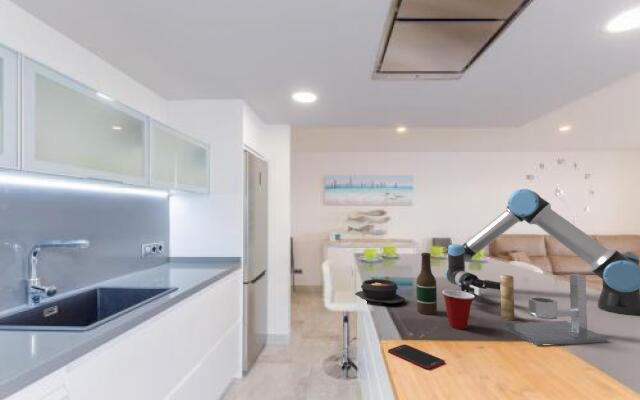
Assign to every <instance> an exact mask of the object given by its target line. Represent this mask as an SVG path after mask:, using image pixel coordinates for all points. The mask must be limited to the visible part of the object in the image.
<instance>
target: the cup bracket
mask: <svg viewBox="0 0 640 400" xmlns="http://www.w3.org/2000/svg"><path fill="white" fill-rule="evenodd" d="M586 277H587V276H586V274H582V273H581V274H580V273H569V289H570V291H569V292H570V293H569V295H570V308H565V309H563V308H562V309H559V308H558V300H555V299H552V298H550V297H548V298H547V297H541V296H535V297H534V296H533V297H532V296H531V297H529V298H528V313H529V315H530V316H532V317H534V318H538V319H545V320H554V319H555V320H556V319H558V318H562V317H570V322H569V321H566V320H561V321H560V320H559V321H558V320H557V321H538V322H518V323H517V322H516V323H514V322H513V323H502V329H503V330H505V331H507V332H509V333H511V335H512V334H513V335H514V334H515V336H516V337H519V338H520V339H523V340H524V341H526V340H527V341H526V342H528V341H529V342H528V343H530V342H531V343H533V344H535V345H543V344H557V345H556V346H560V345H561V346H562V345H577V344H578V345H581V344H593V343H594V344H596V343H608V336H605V335H602V334H600V333H597V332H595V331H592V330H589V329H588V317H587V316H588V313H587V312H588V310H587V281H586V280H587V279H586ZM531 343H530V344H531ZM533 344H532V345H533ZM535 345H534V346H535Z"/></svg>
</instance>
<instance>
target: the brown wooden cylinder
mask: <svg viewBox="0 0 640 400" xmlns="http://www.w3.org/2000/svg"><path fill="white" fill-rule="evenodd" d="M514 281H515V280H514V276H513V275H506V274H503V275H502V274H500V283H501V291H500V313H501V319H503V320H507V321H514V320H515V293H514V292H515V284H514Z"/></svg>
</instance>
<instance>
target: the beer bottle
mask: <svg viewBox="0 0 640 400" xmlns="http://www.w3.org/2000/svg"><path fill="white" fill-rule="evenodd" d="M420 256H421V265H420V269H421V270H420V272H419V274H418V275H417V279H416V311H417V312H418V313H419V314H420V315H426V316H427V315H428V316H430V315H431V316H432V315H436V314H437V309H438V302H437V301H438V300H437V292H438V291H437V289H438V288H437V281H436V277H435V276H434V274H433V272H432V265H431V252H430V253H429V252H422V253H421V254H420Z"/></svg>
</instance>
